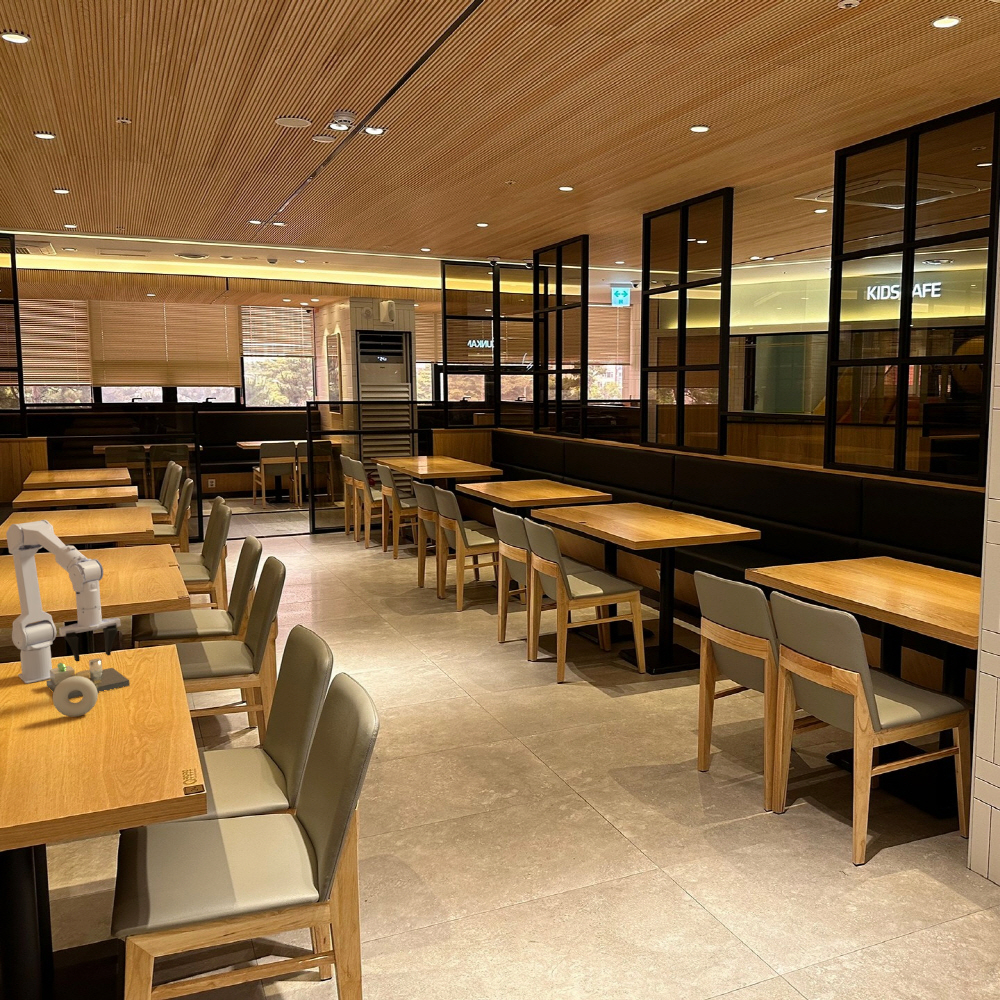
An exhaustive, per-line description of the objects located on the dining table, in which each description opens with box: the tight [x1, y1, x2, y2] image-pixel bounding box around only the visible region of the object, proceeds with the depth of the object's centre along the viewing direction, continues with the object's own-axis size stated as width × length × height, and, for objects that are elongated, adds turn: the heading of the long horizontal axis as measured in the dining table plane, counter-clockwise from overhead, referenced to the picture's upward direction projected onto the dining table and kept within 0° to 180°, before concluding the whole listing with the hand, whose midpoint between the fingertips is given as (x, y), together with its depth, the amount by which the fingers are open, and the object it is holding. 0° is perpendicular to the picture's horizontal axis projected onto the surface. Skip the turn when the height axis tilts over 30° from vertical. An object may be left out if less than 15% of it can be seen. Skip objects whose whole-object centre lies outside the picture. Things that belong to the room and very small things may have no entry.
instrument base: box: [46, 662, 130, 699], centre depth 240 cm, size 15×17×6 cm
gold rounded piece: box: [75, 658, 103, 684], centre depth 238 cm, size 12×6×7 cm, turn 44°
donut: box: [52, 676, 99, 718], centre depth 217 cm, size 10×3×10 cm, turn 113°
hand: (92, 657), depth 234 cm, fingers open, 7 cm apart
